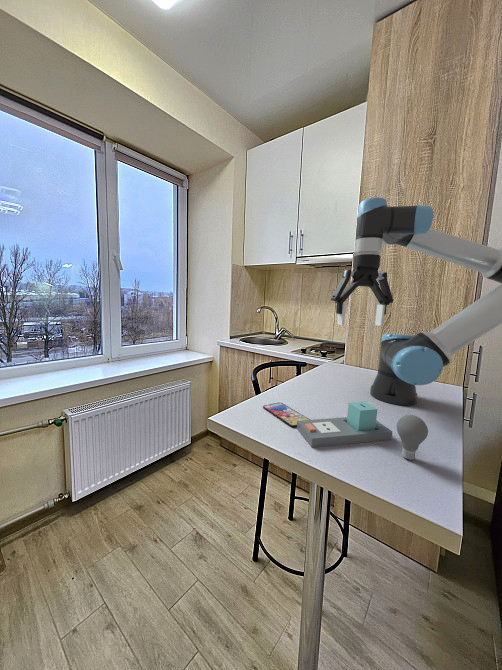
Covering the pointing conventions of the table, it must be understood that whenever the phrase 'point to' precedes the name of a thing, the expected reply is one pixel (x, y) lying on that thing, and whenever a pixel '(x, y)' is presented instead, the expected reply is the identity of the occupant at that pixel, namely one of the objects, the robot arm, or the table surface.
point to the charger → (361, 416)
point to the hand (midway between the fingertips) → (360, 325)
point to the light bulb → (411, 434)
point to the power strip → (339, 432)
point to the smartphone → (285, 414)
